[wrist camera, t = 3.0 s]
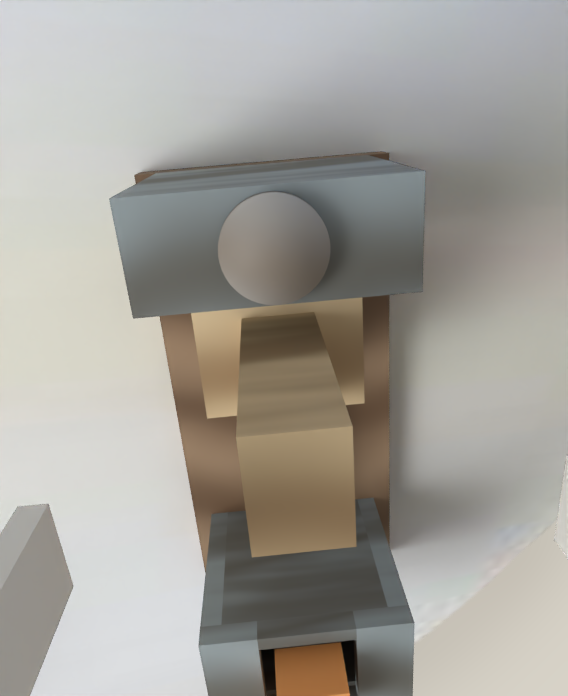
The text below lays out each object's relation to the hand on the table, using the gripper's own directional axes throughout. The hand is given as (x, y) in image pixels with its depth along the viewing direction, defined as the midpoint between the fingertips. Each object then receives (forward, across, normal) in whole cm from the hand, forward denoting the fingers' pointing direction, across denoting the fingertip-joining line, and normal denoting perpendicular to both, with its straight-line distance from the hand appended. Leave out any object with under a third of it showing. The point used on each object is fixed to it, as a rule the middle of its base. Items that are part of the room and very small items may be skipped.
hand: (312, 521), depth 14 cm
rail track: (+17, 0, -5) cm, 18 cm away
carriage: (+15, 0, 0) cm, 15 cm away
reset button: (+7, 0, -15) cm, 17 cm away
